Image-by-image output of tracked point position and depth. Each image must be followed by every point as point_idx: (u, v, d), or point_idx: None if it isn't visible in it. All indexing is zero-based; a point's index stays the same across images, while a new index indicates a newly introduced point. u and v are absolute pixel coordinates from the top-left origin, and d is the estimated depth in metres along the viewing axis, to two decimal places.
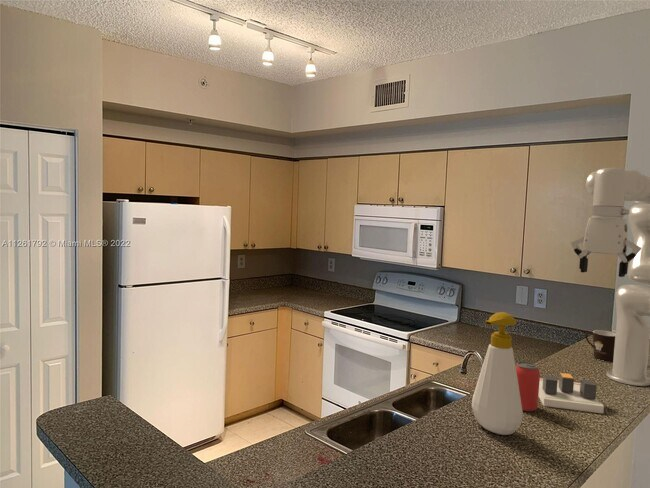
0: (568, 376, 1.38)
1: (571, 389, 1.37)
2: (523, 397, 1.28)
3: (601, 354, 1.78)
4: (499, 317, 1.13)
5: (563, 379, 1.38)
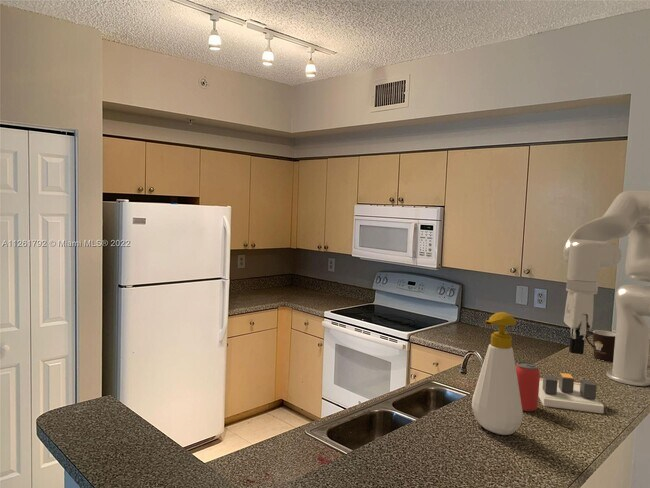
0: (568, 376, 1.38)
1: (571, 389, 1.37)
2: (523, 397, 1.28)
3: (601, 354, 1.78)
4: (499, 317, 1.13)
5: (563, 379, 1.38)
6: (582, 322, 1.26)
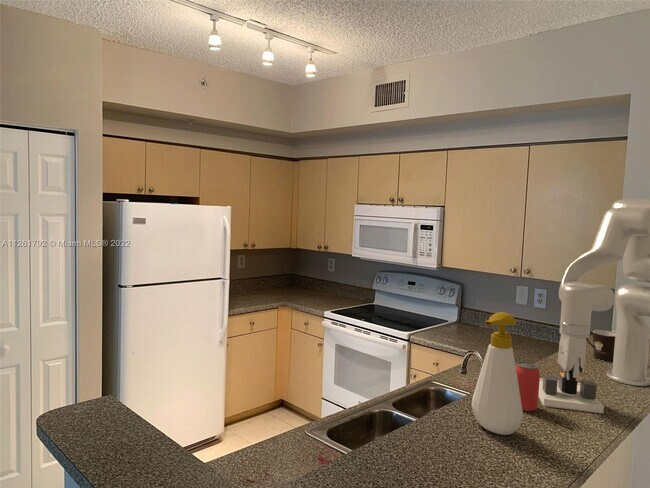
0: None
1: None
2: (523, 397, 1.28)
3: (601, 354, 1.78)
4: (499, 317, 1.13)
5: (563, 379, 1.38)
6: (575, 365, 1.30)
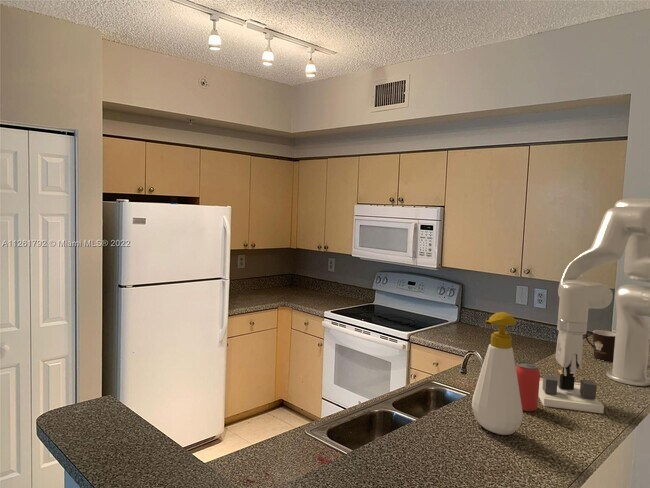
0: None
1: None
2: (523, 397, 1.28)
3: (601, 354, 1.78)
4: (499, 317, 1.13)
5: (560, 376, 1.41)
6: (572, 361, 1.33)
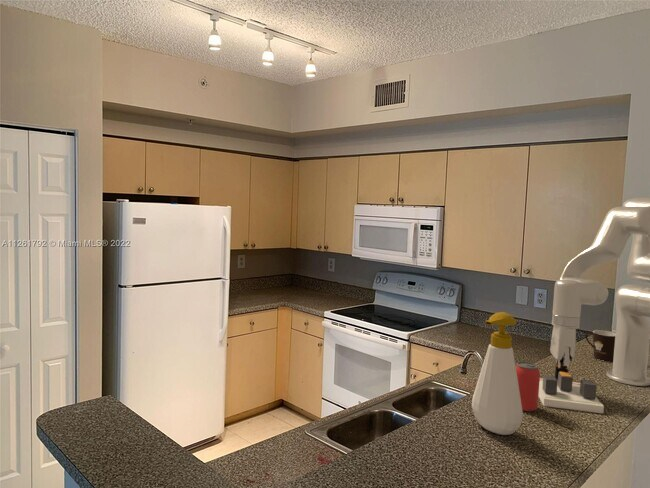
0: (567, 374, 1.40)
1: (570, 387, 1.39)
2: (523, 397, 1.28)
3: (601, 354, 1.78)
4: (499, 317, 1.13)
5: (562, 377, 1.39)
6: (565, 354, 1.40)
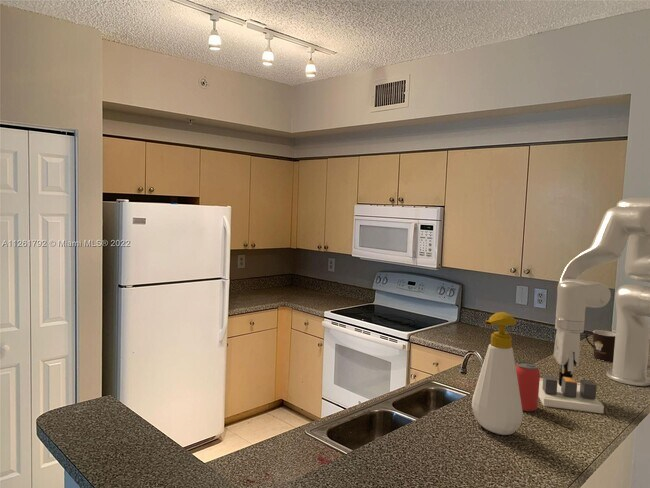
0: (571, 380, 1.35)
1: (574, 393, 1.34)
2: (523, 397, 1.28)
3: (601, 354, 1.78)
4: (499, 317, 1.13)
5: (566, 383, 1.34)
6: (569, 359, 1.35)
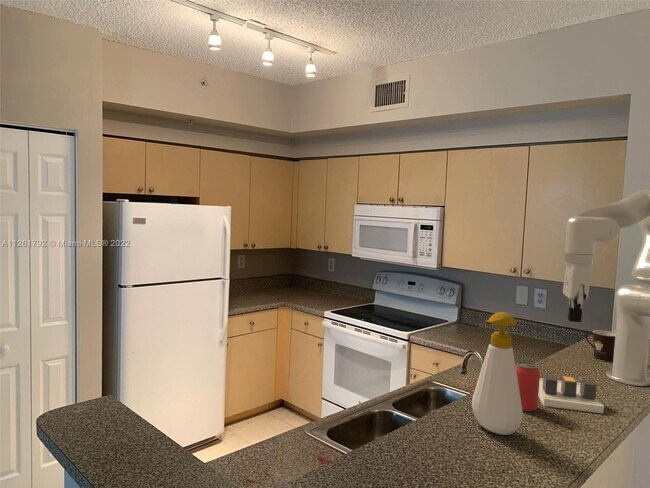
0: (571, 380, 1.35)
1: (574, 393, 1.34)
2: (523, 397, 1.28)
3: (601, 354, 1.78)
4: (499, 317, 1.13)
5: (566, 383, 1.35)
6: (579, 292, 1.36)
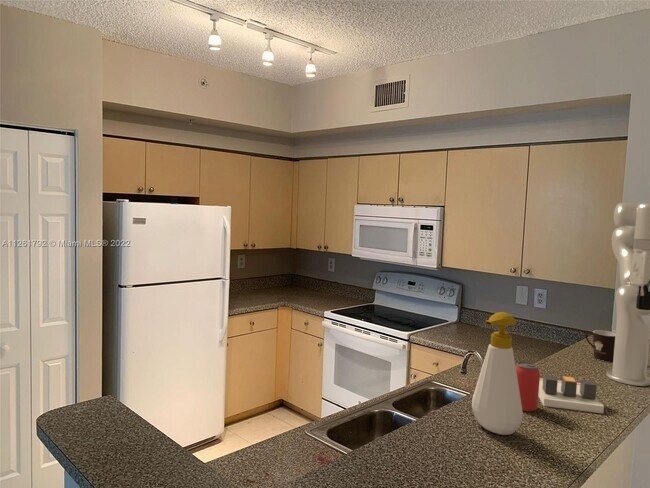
0: (571, 380, 1.35)
1: (574, 393, 1.34)
2: (523, 397, 1.28)
3: (601, 354, 1.78)
4: (499, 317, 1.13)
5: (566, 383, 1.35)
6: None
